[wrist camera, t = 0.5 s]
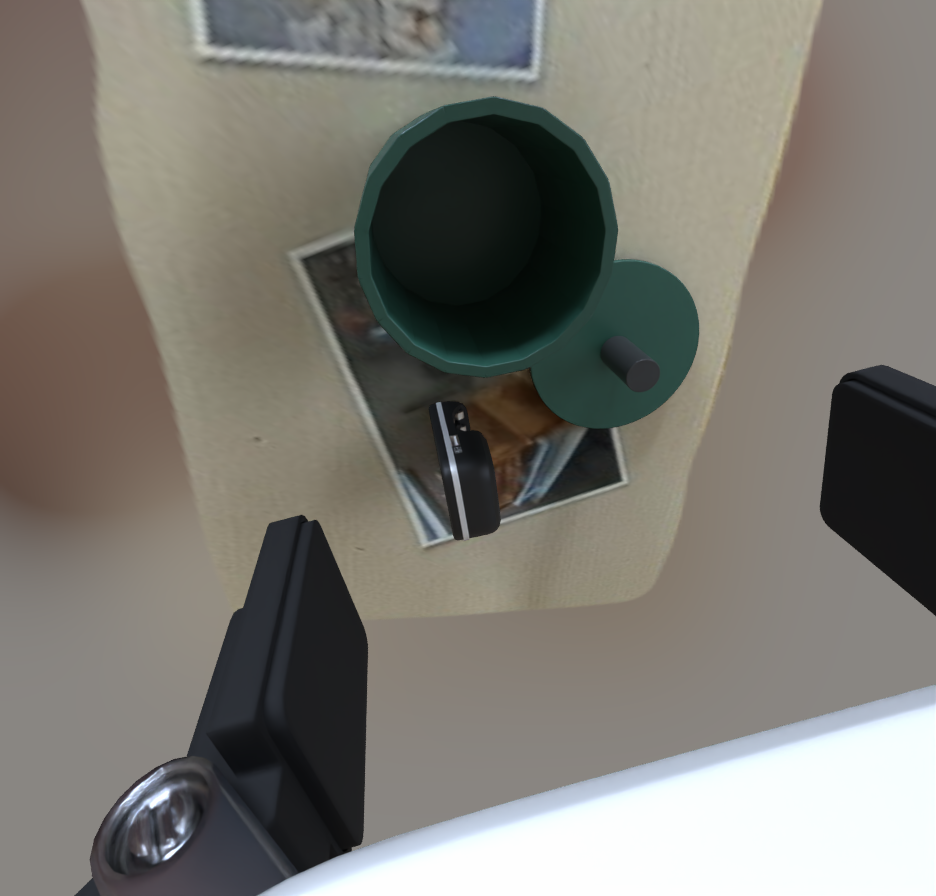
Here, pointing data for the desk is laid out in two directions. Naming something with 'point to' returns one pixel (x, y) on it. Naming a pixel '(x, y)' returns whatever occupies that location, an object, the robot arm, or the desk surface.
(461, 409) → the battery charger
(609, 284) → the lid
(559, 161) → the tin
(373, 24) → the desk surface
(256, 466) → the desk surface
